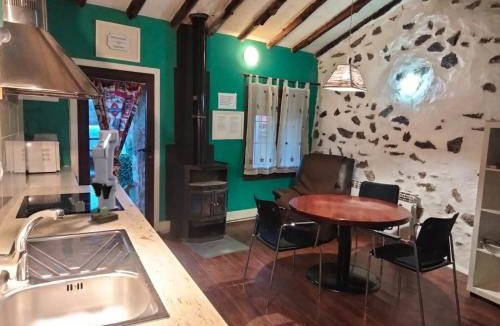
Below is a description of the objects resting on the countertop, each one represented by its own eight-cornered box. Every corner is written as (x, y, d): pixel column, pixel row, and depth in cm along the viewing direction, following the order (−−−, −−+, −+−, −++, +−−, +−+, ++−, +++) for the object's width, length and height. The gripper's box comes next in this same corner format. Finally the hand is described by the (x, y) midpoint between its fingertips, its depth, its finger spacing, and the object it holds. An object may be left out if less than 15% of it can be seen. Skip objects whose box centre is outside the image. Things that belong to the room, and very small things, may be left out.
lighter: (84, 210, 179) (83, 195, 178) (85, 210, 178) (84, 196, 176) (69, 212, 174) (68, 197, 173) (70, 213, 173) (69, 198, 172)
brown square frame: (91, 219, 163) (91, 214, 162) (108, 215, 170) (108, 210, 170) (100, 223, 157) (100, 218, 157) (118, 219, 164) (118, 214, 164)
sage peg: (100, 219, 163) (99, 207, 162) (105, 218, 165) (105, 206, 164) (103, 220, 161) (102, 208, 161) (108, 219, 164) (108, 207, 163)
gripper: (85, 170, 167) (87, 196, 169) (100, 174, 159) (102, 201, 161) (99, 168, 173) (100, 194, 175) (114, 172, 164) (115, 199, 166)
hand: (102, 197), depth 168 cm, fingers open, 7 cm apart
